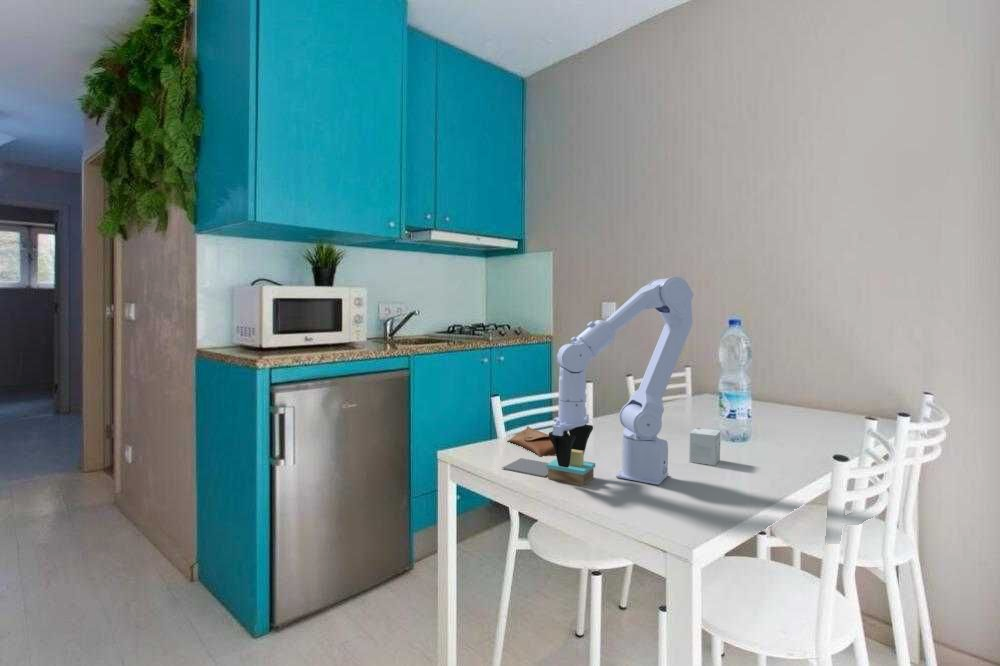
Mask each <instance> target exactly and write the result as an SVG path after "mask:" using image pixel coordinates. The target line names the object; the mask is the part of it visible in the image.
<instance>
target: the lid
mask: <svg viewBox="0 0 1000 666" xmlns="http://www.w3.org/2000/svg"><path fill="white" fill-rule="evenodd" d="M584 455H585V452H584V451H581V450H575V449H572V450H571V458H570V464H569V467H568V468H566V467H561V466H559V465H558V461H557V458H556V459H554V460H551V461H550V462H547V463H548V464H546V468H549V469H554V470H559V471H565V472H570V473H575V474H581V475H584V474H586V473H587V472H589V471H590V470H592V469H593V468H596V462H591V461H585V460H584Z"/></svg>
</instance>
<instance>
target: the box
mask: <svg viewBox="0 0 1000 666" xmlns="http://www.w3.org/2000/svg"><path fill="white" fill-rule="evenodd" d="M594 468H595V467H594ZM594 468H593V469H592V470H590V471H589V472H587V473H586V474H584V475H581V474H575V473H570V472H565V471H559V470H554V469H549V468H548V476H547V479H548V480H553V481H555V482H556V481H558V482H561V483H566V484H567V483H568V484H572V485H577V486H584V485H586V484H587V483H589V482H590V481H591V480H593V479H594Z"/></svg>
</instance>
